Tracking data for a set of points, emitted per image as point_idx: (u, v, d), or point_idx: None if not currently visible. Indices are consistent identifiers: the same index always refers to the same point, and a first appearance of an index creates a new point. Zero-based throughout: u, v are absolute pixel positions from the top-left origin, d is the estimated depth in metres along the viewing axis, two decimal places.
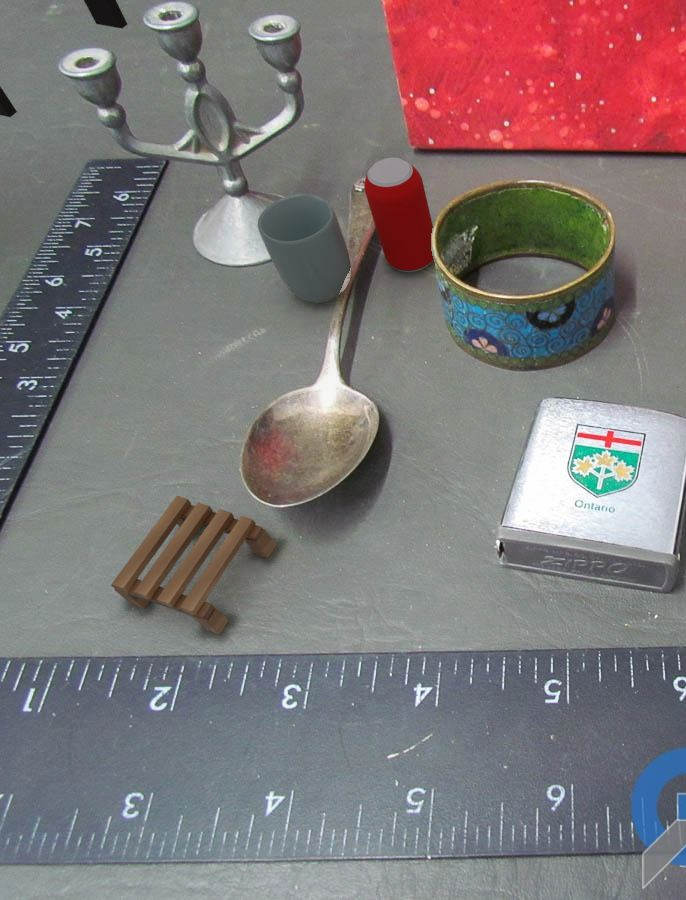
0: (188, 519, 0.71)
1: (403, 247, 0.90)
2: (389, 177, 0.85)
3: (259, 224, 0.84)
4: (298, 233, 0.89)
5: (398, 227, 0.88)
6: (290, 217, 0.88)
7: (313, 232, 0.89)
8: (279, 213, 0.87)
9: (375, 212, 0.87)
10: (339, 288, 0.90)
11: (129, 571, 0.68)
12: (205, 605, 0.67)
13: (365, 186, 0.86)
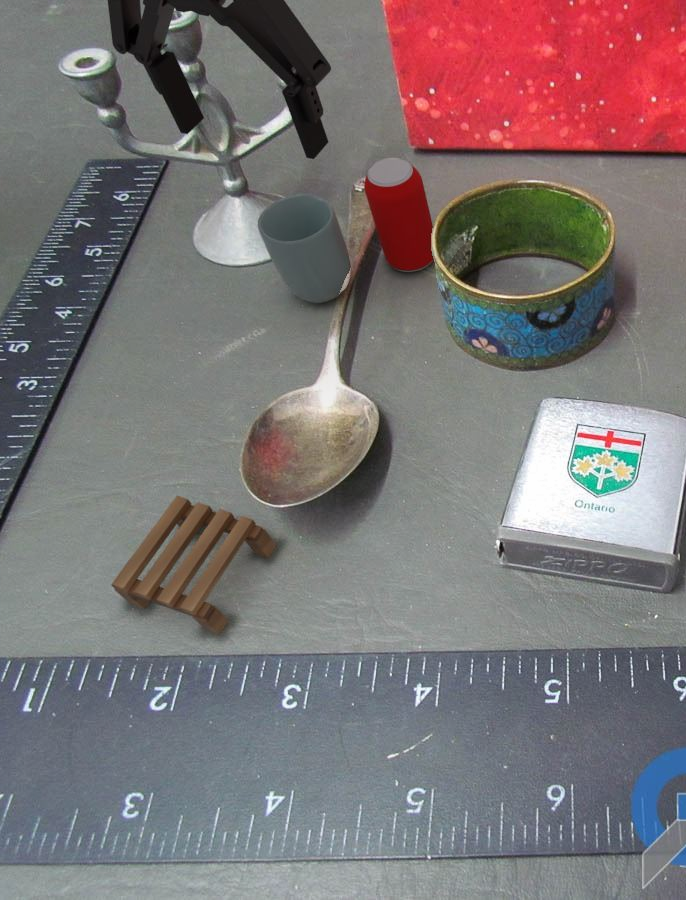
0: (188, 519, 0.71)
1: (403, 247, 0.90)
2: (390, 177, 0.85)
3: (259, 224, 0.84)
4: (298, 233, 0.89)
5: (398, 227, 0.88)
6: (290, 217, 0.88)
7: (313, 232, 0.89)
8: (279, 213, 0.87)
9: (375, 212, 0.87)
10: (339, 288, 0.90)
11: (129, 571, 0.68)
12: (205, 605, 0.67)
13: (365, 186, 0.86)
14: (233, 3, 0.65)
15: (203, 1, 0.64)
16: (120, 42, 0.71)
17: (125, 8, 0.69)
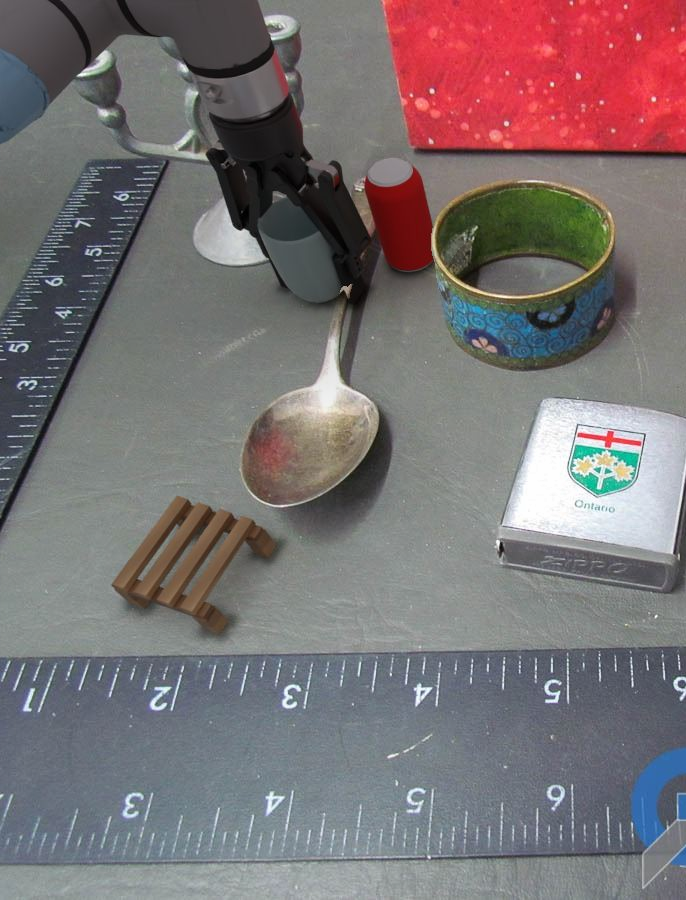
0: (188, 519, 0.71)
1: (403, 247, 0.90)
2: (390, 177, 0.85)
3: (259, 224, 0.84)
4: (298, 233, 0.89)
5: (398, 227, 0.88)
6: (290, 217, 0.88)
7: (313, 232, 0.89)
8: (279, 213, 0.87)
9: (375, 212, 0.87)
10: (339, 288, 0.90)
11: (129, 571, 0.68)
12: (205, 605, 0.67)
13: (365, 186, 0.86)
14: (308, 191, 0.81)
15: (289, 188, 0.79)
16: (237, 222, 0.87)
17: (235, 194, 0.84)
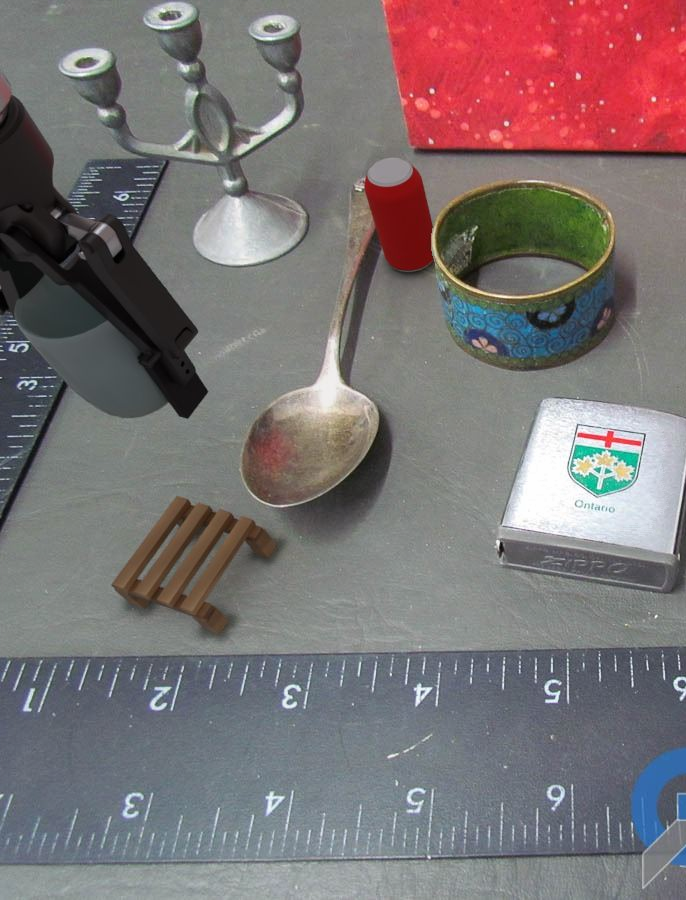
0: (188, 519, 0.71)
1: (403, 247, 0.90)
2: (390, 177, 0.85)
3: (17, 309, 0.54)
4: (94, 316, 0.58)
5: (398, 227, 0.88)
6: None
7: None
8: (58, 288, 0.56)
9: (375, 212, 0.87)
10: (162, 397, 0.59)
11: (129, 571, 0.68)
12: (205, 605, 0.67)
13: (365, 186, 0.86)
14: (80, 261, 0.50)
15: (40, 259, 0.48)
16: None
17: None
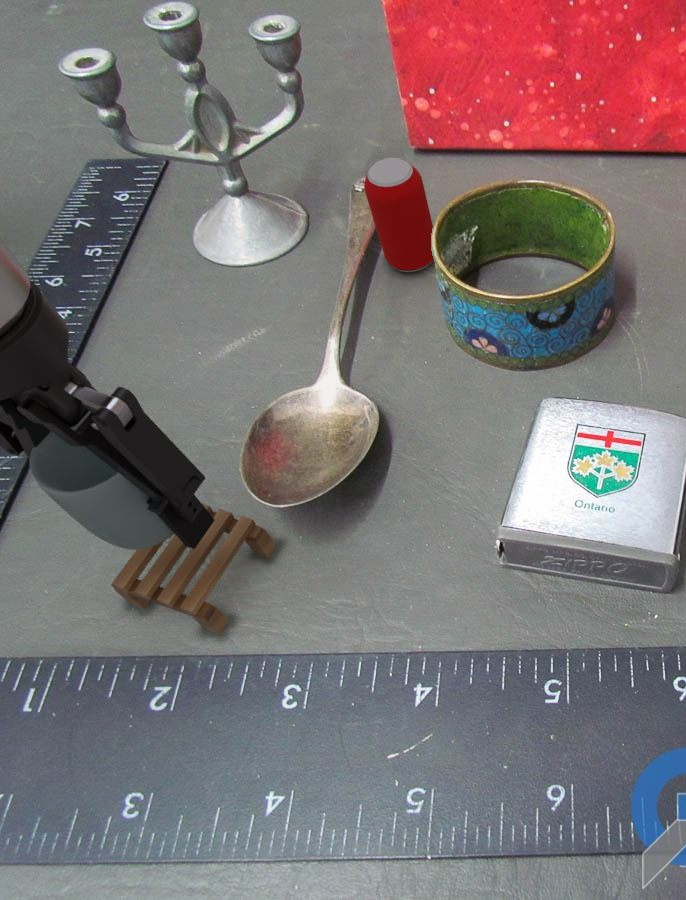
0: None
1: (403, 247, 0.90)
2: (390, 177, 0.85)
3: (32, 459, 0.56)
4: None
5: (398, 227, 0.88)
6: None
7: None
8: None
9: (375, 212, 0.87)
10: (170, 530, 0.62)
11: (129, 571, 0.68)
12: (205, 605, 0.67)
13: (365, 186, 0.86)
14: None
15: (56, 427, 0.51)
16: (9, 447, 0.58)
17: None
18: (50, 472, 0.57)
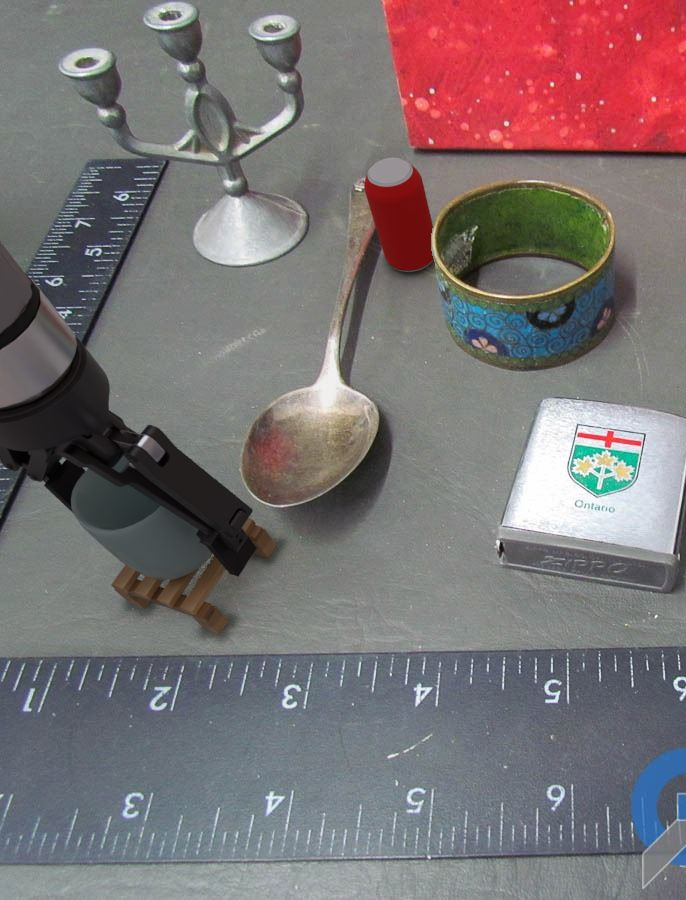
0: None
1: (403, 247, 0.90)
2: (390, 177, 0.85)
3: (73, 498, 0.60)
4: (139, 492, 0.65)
5: (398, 227, 0.88)
6: None
7: None
8: None
9: (375, 212, 0.87)
10: (198, 562, 0.66)
11: (129, 571, 0.68)
12: (205, 605, 0.67)
13: (365, 186, 0.86)
14: None
15: (96, 470, 0.55)
16: (10, 464, 0.61)
17: None
18: (90, 511, 0.61)
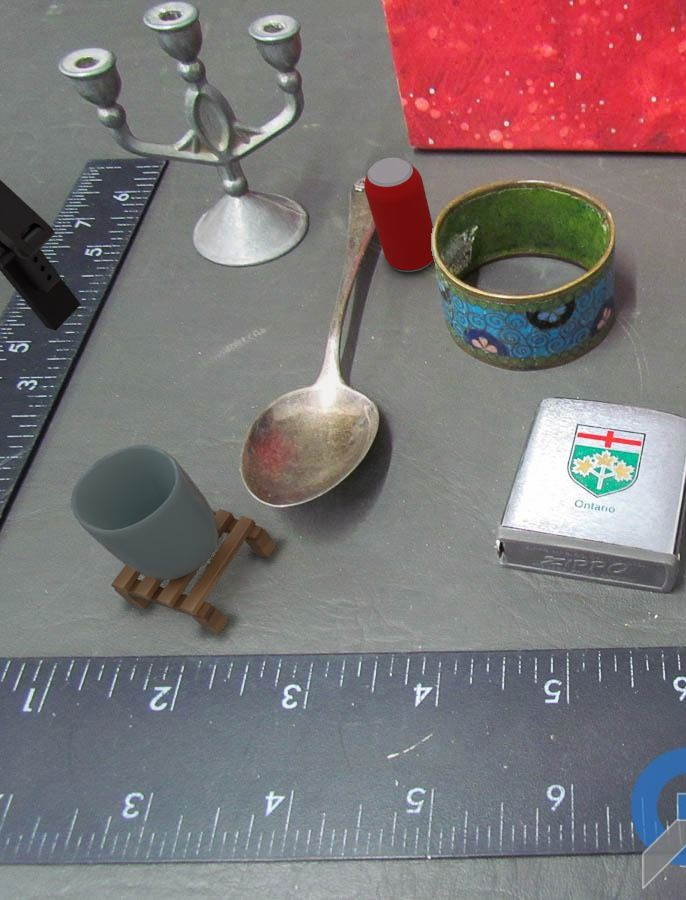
0: None
1: (403, 247, 0.90)
2: (390, 177, 0.85)
3: (73, 498, 0.60)
4: (139, 492, 0.65)
5: (398, 227, 0.88)
6: (125, 475, 0.63)
7: (160, 490, 0.65)
8: (108, 473, 0.63)
9: (375, 212, 0.87)
10: (198, 562, 0.66)
11: (129, 571, 0.68)
12: (205, 605, 0.67)
13: (365, 186, 0.86)
14: None
15: None
16: None
17: None
18: (90, 511, 0.61)
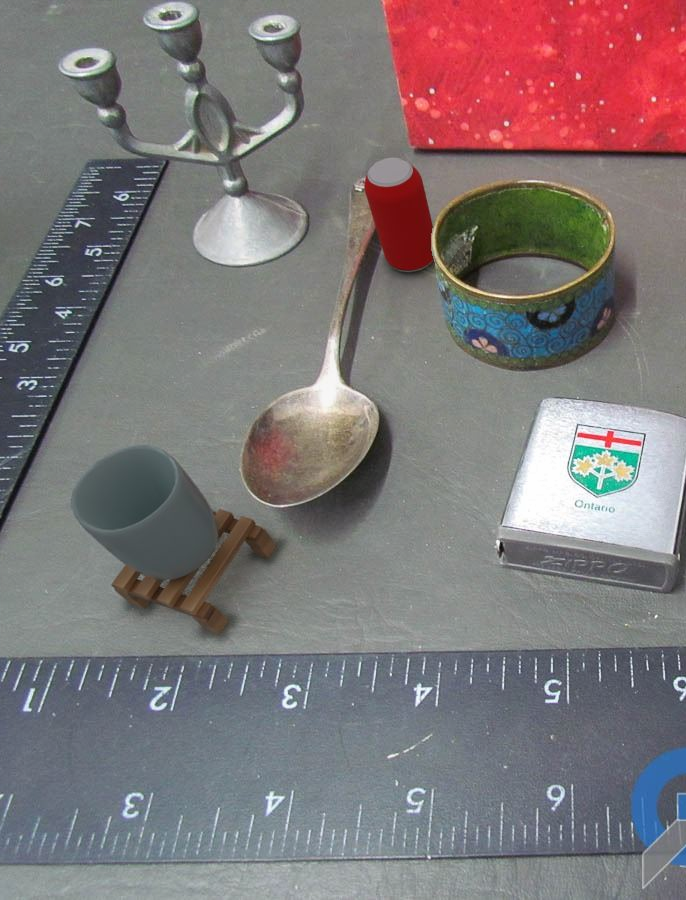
0: None
1: (403, 247, 0.90)
2: (390, 177, 0.85)
3: (73, 498, 0.60)
4: (139, 492, 0.65)
5: (398, 227, 0.88)
6: (125, 475, 0.63)
7: (160, 490, 0.65)
8: (108, 473, 0.63)
9: (375, 212, 0.87)
10: (198, 562, 0.66)
11: (129, 571, 0.68)
12: (205, 605, 0.67)
13: (365, 186, 0.86)
14: None
15: None
16: None
17: None
18: (90, 511, 0.61)
